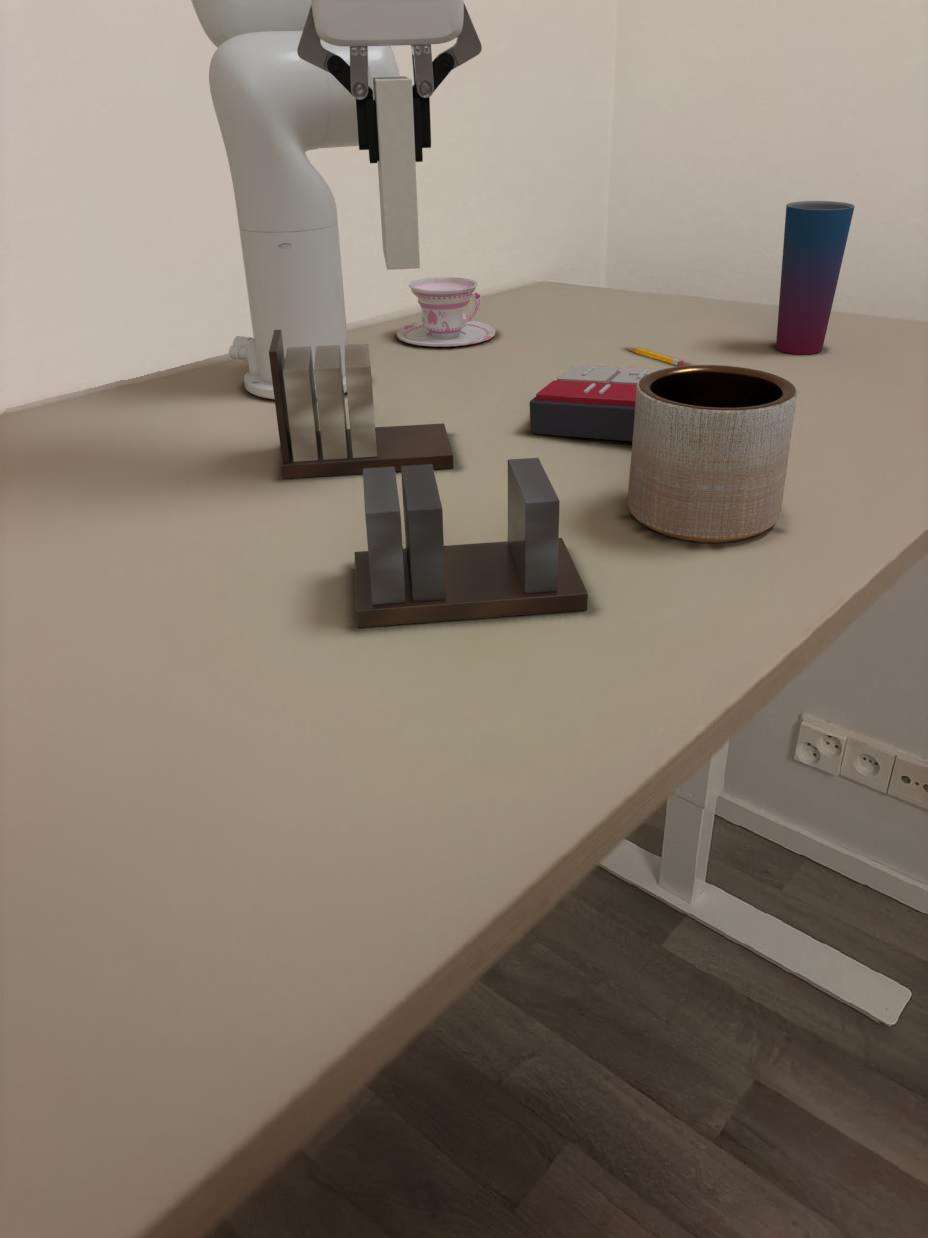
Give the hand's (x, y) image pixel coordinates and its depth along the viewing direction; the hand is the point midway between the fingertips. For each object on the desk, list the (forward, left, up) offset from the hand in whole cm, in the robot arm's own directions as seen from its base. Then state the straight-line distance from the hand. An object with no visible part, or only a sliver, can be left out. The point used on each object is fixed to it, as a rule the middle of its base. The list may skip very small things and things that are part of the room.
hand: (395, 158), depth 70 cm
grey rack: (+14, -19, -23) cm, 33 cm away
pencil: (+10, +38, -24) cm, 46 cm away
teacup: (-16, +38, -23) cm, 48 cm away
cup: (+24, +47, -23) cm, 58 cm away
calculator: (+14, +15, -23) cm, 31 cm away
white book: (0, 0, -7) cm, 7 cm away
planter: (+25, -2, -23) cm, 34 cm away
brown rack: (-4, -1, -23) cm, 23 cm away
